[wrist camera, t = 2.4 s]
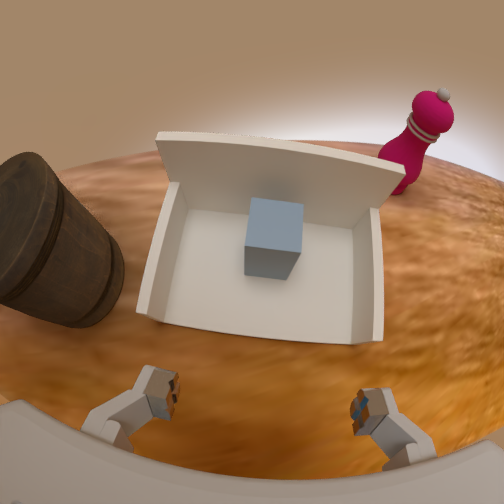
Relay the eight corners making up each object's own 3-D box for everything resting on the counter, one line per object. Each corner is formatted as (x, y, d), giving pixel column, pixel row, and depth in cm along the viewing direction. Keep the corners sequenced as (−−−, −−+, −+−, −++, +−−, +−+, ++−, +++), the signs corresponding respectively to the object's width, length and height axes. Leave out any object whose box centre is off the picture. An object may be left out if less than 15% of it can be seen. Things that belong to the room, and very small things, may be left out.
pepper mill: (411, 199, 38) (478, 117, 20) (375, 196, 38) (439, 100, 19) (398, 164, 41) (451, 81, 22) (364, 160, 41) (411, 65, 22)
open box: (157, 321, 31) (102, 296, 18) (183, 204, 36) (159, 131, 23) (356, 344, 30) (422, 333, 17) (357, 226, 36) (403, 165, 23)
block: (244, 275, 32) (244, 245, 24) (249, 236, 34) (251, 197, 25) (286, 280, 32) (301, 252, 24) (289, 241, 34) (303, 204, 25)
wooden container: (109, 211, 36) (32, 102, 15) (140, 301, 31) (19, 220, 11) (38, 255, 33) (-55, 183, 13) (57, 343, 29) (-70, 310, 8)
